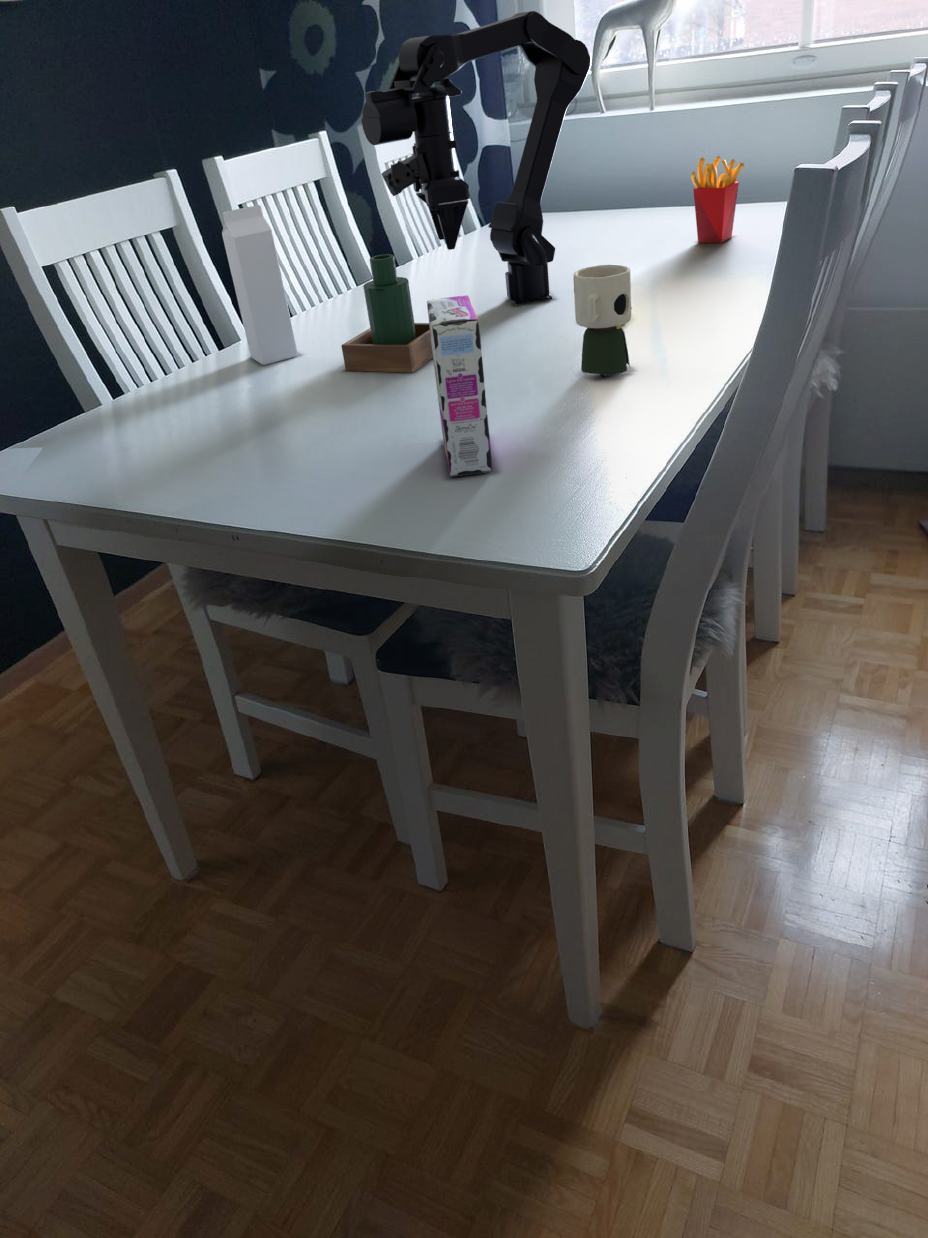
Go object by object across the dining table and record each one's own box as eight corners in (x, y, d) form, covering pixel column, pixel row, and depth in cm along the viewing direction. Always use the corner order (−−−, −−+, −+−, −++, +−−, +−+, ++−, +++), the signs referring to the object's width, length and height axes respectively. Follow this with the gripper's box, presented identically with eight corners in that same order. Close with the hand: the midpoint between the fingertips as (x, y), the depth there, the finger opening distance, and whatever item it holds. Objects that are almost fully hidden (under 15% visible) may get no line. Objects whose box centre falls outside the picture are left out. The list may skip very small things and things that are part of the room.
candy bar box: (496, 472, 101) (480, 318, 92) (450, 479, 101) (429, 325, 92) (485, 435, 111) (469, 292, 102) (443, 441, 111) (423, 298, 102)
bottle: (422, 347, 142) (408, 250, 135) (412, 360, 137) (397, 260, 130) (381, 349, 144) (366, 253, 136) (370, 363, 139) (353, 264, 131)
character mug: (620, 387, 119) (617, 281, 112) (566, 386, 122) (560, 282, 115) (642, 360, 127) (641, 259, 120) (591, 359, 130) (587, 260, 123)
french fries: (705, 235, 188) (707, 152, 180) (745, 235, 184) (749, 150, 176) (686, 245, 182) (687, 160, 174) (727, 246, 178) (730, 159, 170)
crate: (382, 347, 147) (378, 322, 145) (446, 348, 143) (443, 322, 141) (345, 370, 139) (340, 344, 137) (412, 372, 134) (408, 346, 132)
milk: (298, 356, 149) (268, 206, 137) (262, 365, 146) (228, 213, 135) (285, 348, 153) (254, 202, 141) (250, 357, 151) (216, 210, 139)
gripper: (374, 137, 148) (390, 241, 156) (386, 147, 132) (403, 263, 141) (444, 127, 149) (456, 231, 157) (464, 135, 133) (476, 251, 142)
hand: (446, 244), depth 149 cm, fingers open, 9 cm apart
